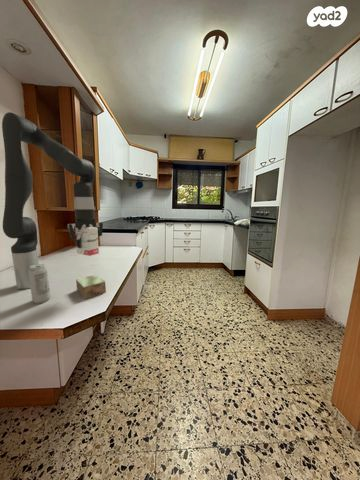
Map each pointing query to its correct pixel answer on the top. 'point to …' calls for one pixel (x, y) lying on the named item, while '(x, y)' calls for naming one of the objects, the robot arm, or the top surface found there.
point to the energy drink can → (39, 283)
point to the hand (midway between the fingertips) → (87, 246)
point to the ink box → (88, 241)
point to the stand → (90, 286)
